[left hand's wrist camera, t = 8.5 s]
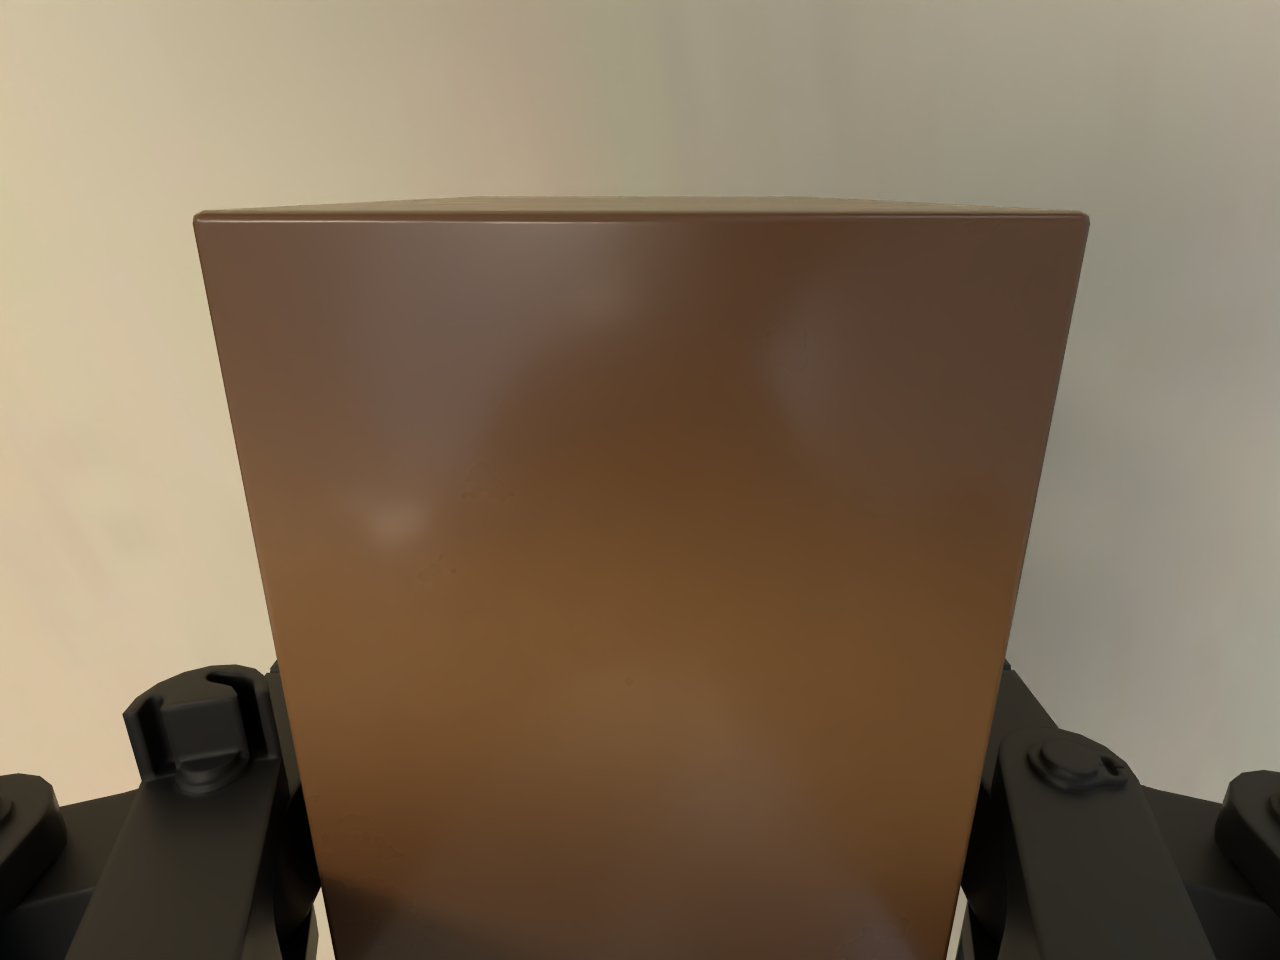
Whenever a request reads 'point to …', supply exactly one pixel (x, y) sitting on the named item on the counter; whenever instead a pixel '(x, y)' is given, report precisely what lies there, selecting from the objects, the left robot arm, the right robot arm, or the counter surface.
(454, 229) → the bar
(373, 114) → the counter surface
